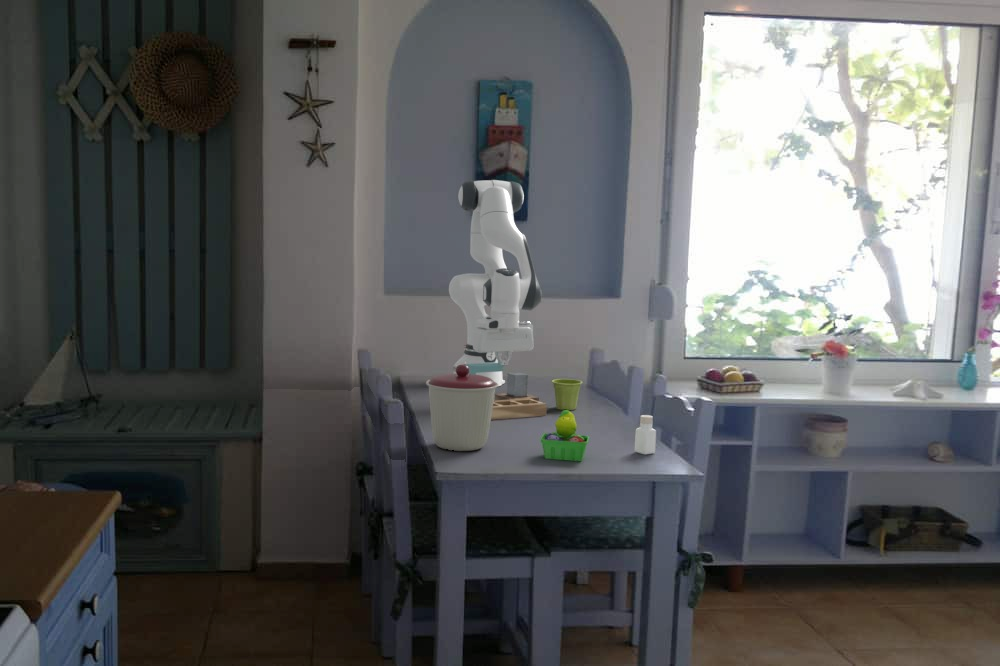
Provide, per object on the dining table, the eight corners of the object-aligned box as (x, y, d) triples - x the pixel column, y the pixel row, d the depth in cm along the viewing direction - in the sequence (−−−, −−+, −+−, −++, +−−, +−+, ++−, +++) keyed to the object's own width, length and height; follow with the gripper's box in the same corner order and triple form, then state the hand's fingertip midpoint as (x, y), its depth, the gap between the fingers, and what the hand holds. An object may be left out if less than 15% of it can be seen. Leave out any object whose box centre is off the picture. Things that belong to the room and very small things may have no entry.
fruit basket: (539, 459, 238) (541, 413, 237) (543, 451, 247) (545, 407, 246) (585, 463, 236) (588, 417, 235) (589, 455, 245) (591, 410, 244)
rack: (465, 414, 291) (466, 402, 291) (528, 409, 302) (528, 398, 302) (482, 420, 282) (482, 408, 282) (546, 415, 294) (546, 403, 293)
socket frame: (521, 401, 315) (521, 392, 315) (538, 407, 306) (538, 397, 306) (447, 406, 301) (447, 397, 301) (462, 412, 293) (462, 402, 292)
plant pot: (565, 412, 299) (566, 384, 298) (544, 407, 306) (545, 380, 305) (587, 409, 305) (588, 382, 304) (566, 404, 312) (567, 377, 311)
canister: (510, 449, 248) (513, 366, 245) (456, 459, 235) (459, 372, 233) (463, 436, 261) (466, 357, 258) (409, 444, 248) (411, 362, 246)
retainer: (491, 400, 307) (493, 362, 306) (503, 404, 301) (504, 365, 300) (454, 403, 301) (456, 363, 299) (465, 407, 295) (467, 367, 293)
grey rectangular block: (506, 404, 309) (507, 373, 308) (518, 403, 311) (520, 372, 310) (514, 407, 305) (515, 375, 304) (526, 406, 307) (527, 374, 306)
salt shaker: (644, 450, 252) (646, 414, 251) (655, 453, 249) (658, 416, 248) (633, 452, 250) (635, 415, 249) (644, 455, 247) (646, 418, 246)
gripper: (527, 319, 310) (525, 363, 312) (471, 321, 300) (469, 365, 302) (538, 322, 305) (536, 366, 307) (481, 323, 295) (479, 368, 296)
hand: (502, 365), depth 304 cm, fingers closed
